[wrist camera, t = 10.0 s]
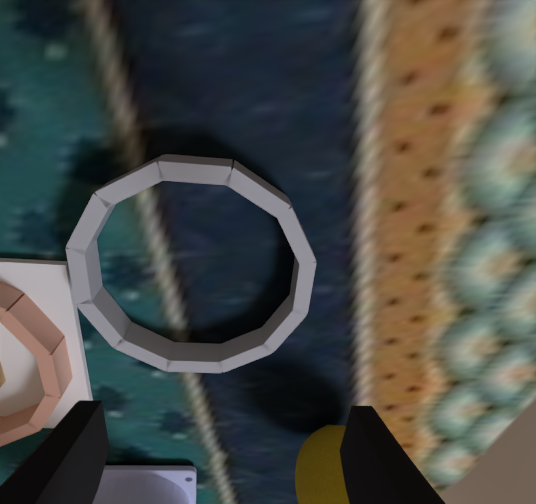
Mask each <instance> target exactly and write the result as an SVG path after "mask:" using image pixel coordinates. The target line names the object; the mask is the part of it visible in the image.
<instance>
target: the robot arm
mask: <svg viewBox="0 0 536 504" xmlns="http://www.w3.org/2000/svg"><path fill="white" fill-rule="evenodd" d="M339 451H340V458H341V464H342V470H343V476H344V482H345V487H346V492H347V495H348V499H349V503H350V504H445V502H444V501H443V500H442V499H441V498H440V496H439V495H438V494H437V493H436V491H435V490H434V489H433V488H432V486H431V485H430V484H429V483H428V481H427V480H426V479H425V478H424V476H423V475H422V474H421V472H420V471H419V470H418V468H417V467H416V466H415V465H414V463H413V462H412V461H411V459H410V458H409V457H408V455H407V454H406V453H405V451H404V450H403V449H402V447H401V446H400V444H399V443H398V442H397V440H396V439H395V438H394V436H393V435H392V433H391V432H390V431H389V429H388V428H387V426H386V425H385V424H384V422H383V421H382V419H381V418H380V417H379V415H378V414H377V412H376V411H375V409H374V408H373V407H372V406H352V407H351V410H350V414H349V418H348V421H347V425H346V429H345V432H344V436H343V439H342V443H341V447H340V450H339ZM108 452H109V443H108V436H107V430H106V424H105V417H104V411H103V404H102V401H88V400H79V401H78V402H77V403H75V405H74V406H73V407H72V408H71V409H70V410H69V412H68V413H67V414H66V415H65V416H64V417H63V418H62V420H61V421H60V422H59V423H58V424H57V425H56V426H55V428H54V429H53V430H52V431H51V432H50V433H49V434H48V435H47V437H46V438H45V439H44V440H43V441H42V442H41V443H40V444H39V445H38V447H37V448H36V449H35V450H34V451H33V452H32V453H31V454H30V455H29V456H28V457H27V458H26V459H25V461H24V462H23V463H22V464H21V465H20V466H19V467H18V468H17V469H16V470H15V471H14V472H13V473H12V474H11V475H10V477H9V478H8V479H7V480H6V481H5V482H4V483H3V484H2V485H1V486H0V504H196V468H195V467H193V466H142V465H105V463H106V459H107V456H108Z"/></svg>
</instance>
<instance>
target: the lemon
mask: <svg viewBox="0 0 536 504" xmlns="http://www.w3.org/2000/svg"><path fill="white" fill-rule="evenodd" d="M345 429H346V426H341V425H326V426H324V427H323V428H320V429H318V430H316V431H315V432H313V433H312V434H311V435H310V436H309V437H308V438H307V439H306V441H305V442H304V444H303V445H302V447H301V449H300V451H299V454H298V458H297V463H296V469H295V487H296V494H297V499H298V504H350V503H349V499H348V495H347V492H346V487H345V482H344V476H343V470H342V464H341V458H340V451H339V450H340V447H341V443H342V439H343V436H344V432H345Z"/></svg>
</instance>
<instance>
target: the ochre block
mask: <svg viewBox="0 0 536 504" xmlns="http://www.w3.org/2000/svg"><path fill="white" fill-rule="evenodd" d="M5 381H6V379H5V376H4V372H3V369H2V366H1V362H0V388H1V386H2V385H3V384H4V382H5Z"/></svg>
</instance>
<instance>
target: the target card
mask: <svg viewBox="0 0 536 504" xmlns="http://www.w3.org/2000/svg"><path fill="white" fill-rule="evenodd" d="M0 282H2V283H4V284H7V285H9V286H11V287H13V288H15V289H18V290H20V291H22V292H24V293H23V295H24V294H27V296H28V297H29V298H30V299H31V300H32V301H33V302H34V303H35V304H36V305H37V306H38V307H39V308H40V309H41V311H42V312H43V313H44V314H45V315H46V316H47V317H48V318H49V319H50V320H51V321H52V322H53V323H54V324H55V326H56V327H57V328H58V329H59V330H60V331H61V332H62V333H63V334H64V336H65V339H66V344H67V349H68V354H69V359H70V365H71V370H72V375H73V377H72V380H71V382H70V383H69V385H68V387H67V389H66V390H65V392H64V394H63V396H62V397H61V399H60V401H59V402H58V404H57V405H56V407H55V409H54V410H53V412H52V413H51V415H50V417H49V418H48V420H47V421H46V423H45V424H44V426H43V428H55V426H56V425H57V424H58V423H59V422H60V421H61V420H62V418H63V417H64V416H65V415H66V414H67V413H68V412H69V410H70V409H71V408H72V407H73V406H74V405H75V403H77V402H78V401H79V400H88V401H93V398H92V393H91V387H90V381H89V375H88V369H87V363H86V358H85V352H84V346H83V340H82V334H81V328H80V323H79V317H78V311H77V306H76V304H75V301H74V295H73V289H72V283H71V277H70V272H69V266H68V261H50V260H31V259H13V258H0ZM0 362H1V366H2V369H3V372H4V376H5V379H6V381H5V382H4V384H3V385H2V386H1V388H0V416H2V417H6V416H9V415H11V414H13V413H16V412H18V411H21V410H23V409H26V408H28V407H30V406H33V405H35V404H38V403H40V402H41V401H42V399H43V398H44V396H45V392H44V388H43V384H42V380H41V376H40V372H39V368H38V364H37V360H36V357H35V356H34V355H33V354H32V353H31V352H30V351H29V350H28V349H27V348H26V347H25V346H24V345H23V344H22V343H21V342H20V341H19V340H18V339H17V338H16V337H15V336H14V335H13V334H12V333H11V332H10V331H9V330H8V329H7V328H6V327H5V326H4V325H3V324H1V323H0Z"/></svg>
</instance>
